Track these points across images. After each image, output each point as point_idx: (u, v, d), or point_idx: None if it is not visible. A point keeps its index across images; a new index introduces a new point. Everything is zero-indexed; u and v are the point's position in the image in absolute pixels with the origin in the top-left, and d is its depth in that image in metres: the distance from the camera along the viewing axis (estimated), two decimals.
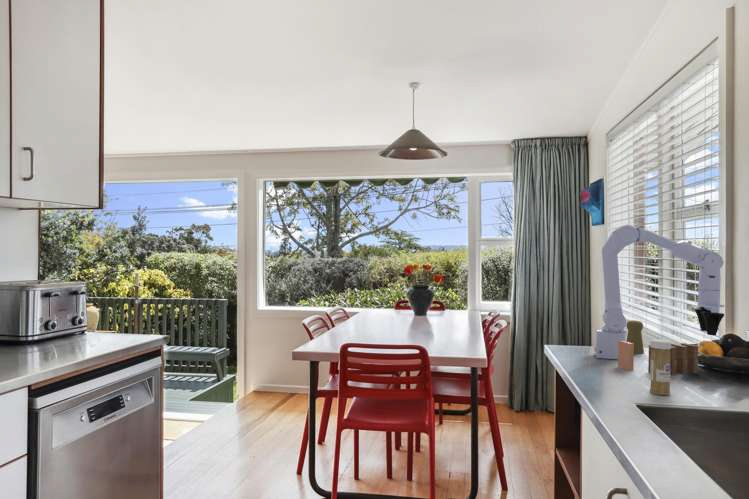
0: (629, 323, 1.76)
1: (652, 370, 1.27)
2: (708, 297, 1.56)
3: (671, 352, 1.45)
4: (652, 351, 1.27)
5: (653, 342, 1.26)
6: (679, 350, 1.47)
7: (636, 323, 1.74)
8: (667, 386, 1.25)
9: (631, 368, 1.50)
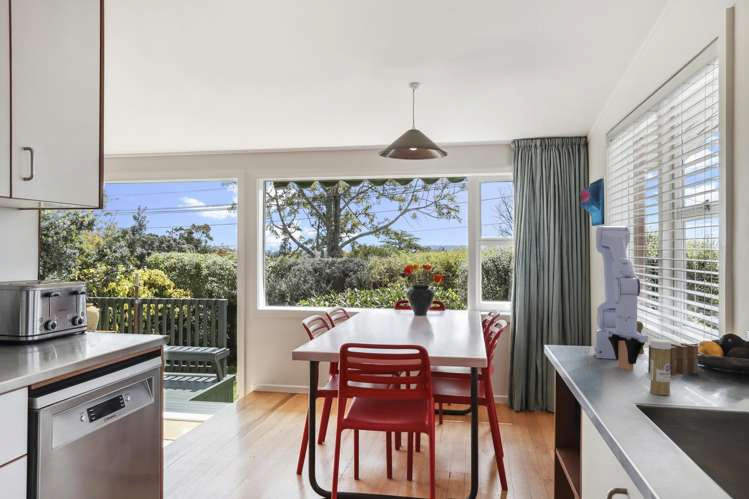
0: None
1: (652, 370, 1.27)
2: None
3: (671, 352, 1.45)
4: (652, 351, 1.27)
5: (653, 342, 1.26)
6: (679, 350, 1.47)
7: None
8: (667, 386, 1.25)
9: (631, 368, 1.50)
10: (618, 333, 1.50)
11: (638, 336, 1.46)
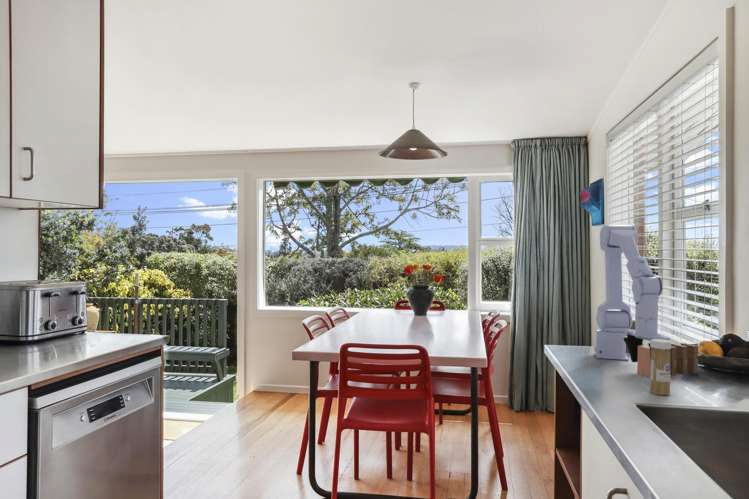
0: None
1: (652, 370, 1.27)
2: None
3: (671, 352, 1.45)
4: (652, 351, 1.27)
5: (653, 342, 1.26)
6: (679, 350, 1.47)
7: None
8: (667, 386, 1.25)
9: None
10: (638, 335, 1.43)
11: (659, 338, 1.39)
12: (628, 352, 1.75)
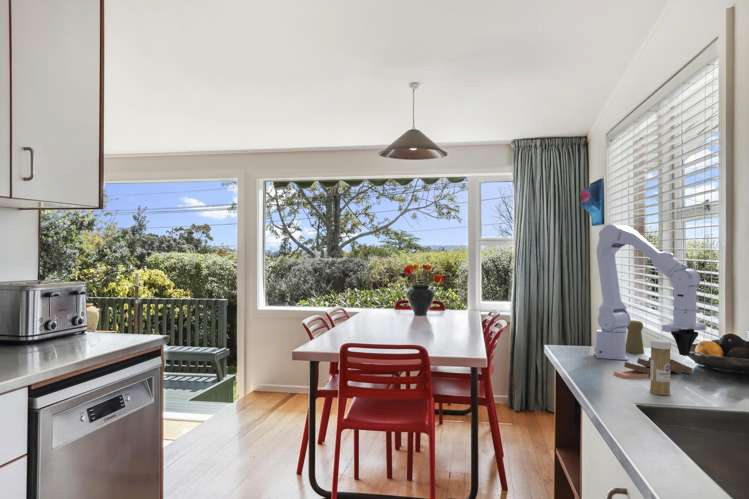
0: None
1: (652, 370, 1.27)
2: (675, 316, 1.49)
3: None
4: (652, 351, 1.27)
5: (653, 342, 1.26)
6: None
7: (636, 323, 1.74)
8: (667, 386, 1.25)
9: (647, 376, 1.43)
10: None
11: (703, 325, 1.50)
12: (628, 352, 1.75)
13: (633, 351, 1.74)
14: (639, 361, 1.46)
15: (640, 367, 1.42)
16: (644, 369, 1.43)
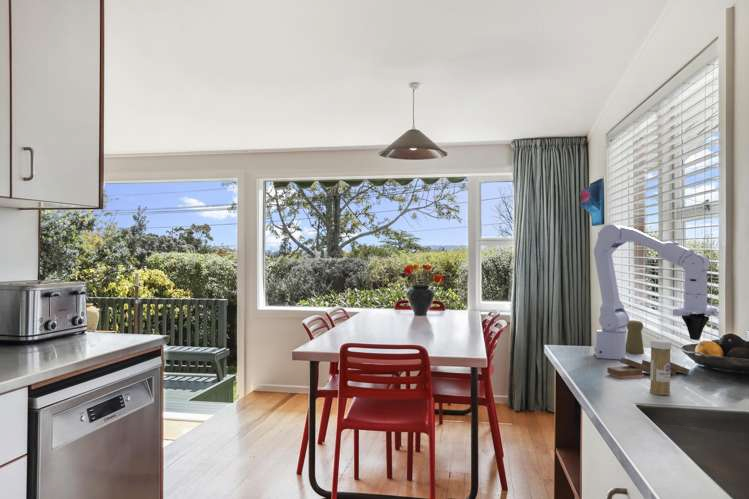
0: (629, 323, 1.76)
1: (652, 370, 1.27)
2: (686, 301, 1.50)
3: (631, 365, 1.45)
4: (652, 351, 1.27)
5: (653, 342, 1.26)
6: None
7: (636, 323, 1.74)
8: (667, 386, 1.25)
9: None
10: None
11: (714, 310, 1.51)
12: (628, 352, 1.75)
13: (633, 351, 1.74)
14: (621, 360, 1.48)
15: (623, 372, 1.41)
16: (627, 372, 1.41)
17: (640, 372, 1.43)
